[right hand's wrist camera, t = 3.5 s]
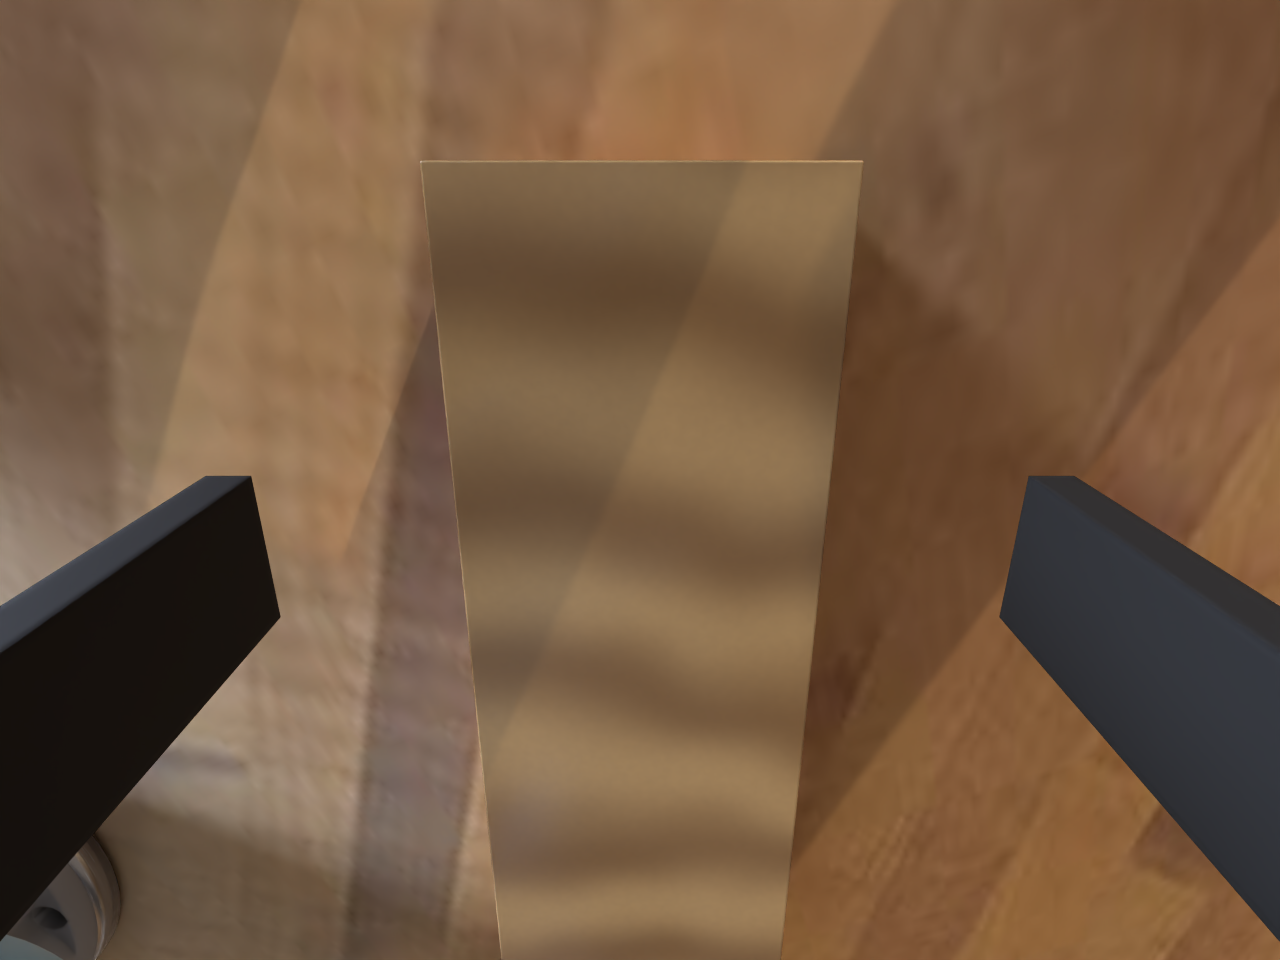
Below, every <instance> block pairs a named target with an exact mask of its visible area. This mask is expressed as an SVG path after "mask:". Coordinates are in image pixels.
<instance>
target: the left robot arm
mask: <svg viewBox="0 0 1280 960" xmlns="http://www.w3.org/2000/svg"><path fill="white" fill-rule="evenodd" d="M119 915H120V892H119V887H118V883H117V879H116V876H115V873H114V870H113V868H112V866H111V864H110V862H109V860H108V858H107V856H106V854H105V852H104V851H103V849H102V848H101V846H100V845H99V843H98V842H97V840H96V839H95V838H94V837H93V835H92V836H91V837H90V838H89V839H88V841H87V842H86V843H85V844H84V845H83V846H82V848H81V849H80V850H79V851H78V852H77V853H76V855H75V856H74V857H73V858H72V859H71V860H70V861H69V863H68V864H67V865H66V866H65V867H64V868H63V870H62V871H61V872H60V873H59V874H58V875H57V877H56V878H55V879H54V880H53V881H52V882H51V883H50V885H49V886H48V887H47V888H46V889H45V890H44V892H43V893H42V894H41V895H40V896H39V897H38V899H37V900H36V901H35V902H34V903H33V904H32V905H31V907H30V908H29V909H28V910H27V911H26V912H25V914H24V915H23V916H22V917H21V918H20V919H19V921H18V922H17V923H16V924H15V925H14V926H13V927H12V929H11V930H10V931H9V932H8V933H7V934H6V936H5V937H4V938H3V939H2V940H1V941H0V960H97V958H98V957H99V956H100V954H101V953H102V951H103V950H104V949H105V947H106V946H107V944H108V943H109V941H110V940H111V938H112V936H113V934H114V932H115V930H116V927H117V924H118V920H119Z"/></svg>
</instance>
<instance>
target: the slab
mask: <svg viewBox="0 0 1280 960" xmlns="http://www.w3.org/2000/svg"><path fill="white" fill-rule="evenodd" d="M863 165H864V163H863V161H862V160H422V161H421V162H420V167H421V177H422V187H423V197H424V206H425V216H426V226H427V236H428V245H429V255H430V265H431V275H432V285H433V294H434V304H435V314H436V324H437V334H438V343H439V353H440V363H441V373H442V382H443V392H444V402H445V412H446V422H447V431H448V441H449V451H450V461H451V471H452V480H453V490H454V500H455V510H456V519H457V529H458V539H459V549H460V559H461V568H462V578H463V588H464V598H465V608H466V617H467V627H468V637H469V647H470V656H471V666H472V676H473V686H474V696H475V705H476V715H477V725H478V735H479V744H480V754H481V764H482V774H483V784H484V793H485V803H486V813H487V823H488V833H489V842H490V852H491V862H492V872H493V881H494V891H495V901H496V911H497V921H498V930H499V940H500V950H501V960H781V953H782V943H783V934H784V924H785V914H786V905H787V895H788V886H789V876H790V866H791V857H792V847H793V838H794V828H795V818H796V809H797V799H798V790H799V780H800V770H801V761H802V751H803V742H804V732H805V722H806V713H807V703H808V694H809V684H810V674H811V665H812V655H813V646H814V636H815V626H816V617H817V607H818V597H819V588H820V578H821V569H822V559H823V549H824V540H825V530H826V521H827V511H828V501H829V492H830V482H831V473H832V463H833V453H834V444H835V434H836V425H837V415H838V405H839V396H840V386H841V377H842V367H843V357H844V348H845V338H846V329H847V319H848V309H849V300H850V290H851V281H852V271H853V261H854V252H855V242H856V232H857V223H858V213H859V204H860V194H861V184H862V175H863Z"/></svg>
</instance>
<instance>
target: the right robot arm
mask: <svg viewBox="0 0 1280 960" xmlns="http://www.w3.org/2000/svg"><path fill="white" fill-rule="evenodd" d="M279 618H280V612H279V607H278V603H277V598H276V593H275V588H274V583H273V579H272V574H271V569H270V564H269V559H268V555H267V550H266V545H265V540H264V535H263V531H262V526H261V521H260V516H259V511H258V507H257V502H256V497H255V492H254V487H253V483H252V478H251V476H205V477H203V478H202V479H200V480H199V481H197V482H195V483H194V484H192V485H191V486H189V487H188V488H186V489H184V490H183V491H181V492H180V493H178V494H177V495H175V496H173V497H172V498H170V499H169V500H167V501H165V502H164V503H162V504H161V505H159V506H158V507H156V508H154V509H153V510H151V511H150V512H148V513H147V514H145V515H143V516H142V517H140V518H139V519H137V520H136V521H134V522H132V523H131V524H129V525H128V526H126V527H124V528H123V529H121V530H120V531H118V532H117V533H115V534H113V535H112V536H110V537H109V538H107V539H106V540H104V541H102V542H101V543H99V544H98V545H96V546H94V547H93V548H91V549H90V550H88V551H87V552H85V553H83V554H82V555H80V556H79V557H77V558H76V559H74V560H72V561H71V562H69V563H68V564H66V565H64V566H63V567H61V568H60V569H58V570H57V571H55V572H53V573H52V574H50V575H49V576H47V577H46V578H44V579H42V580H41V581H39V582H38V583H36V584H34V585H33V586H31V587H30V588H28V589H27V590H25V591H23V592H22V593H20V594H19V595H17V596H16V597H14V598H12V599H11V600H9V601H8V602H6V603H4V604H3V605H1V606H0V941H1V940H2V939H3V938H4V937H5V936H6V934H7V933H8V932H9V931H10V930H11V929H12V927H13V926H14V925H15V924H16V923H17V922H18V921H19V919H20V918H21V917H22V916H23V915H24V914H25V912H26V911H27V910H28V909H29V908H30V907H31V905H32V904H33V903H34V902H35V901H36V900H37V899H38V897H39V896H40V895H41V894H42V893H43V892H44V890H45V889H46V888H47V887H48V886H49V885H50V883H51V882H52V881H53V880H54V879H55V878H56V877H57V875H58V874H59V873H60V872H61V871H62V870H63V868H64V867H65V866H66V865H67V864H68V863H69V861H70V860H71V859H72V858H73V857H74V856H75V855H76V853H77V852H78V851H79V850H80V849H81V848H82V846H83V845H84V844H85V843H86V842H87V841H88V839H89V838H90V837H91V836H92V835H93V834H94V833H95V831H96V830H97V829H98V828H99V827H100V826H101V824H102V823H103V822H104V821H105V820H106V819H107V817H108V816H109V815H110V814H111V813H112V812H113V811H114V809H115V808H116V807H117V806H118V805H119V804H120V802H121V801H122V800H123V799H124V798H125V797H126V795H127V794H128V793H129V792H130V791H131V790H132V789H133V787H134V786H135V785H136V784H137V783H138V782H139V780H140V779H141V778H142V777H143V776H144V775H145V773H146V772H147V771H148V770H149V769H150V768H151V767H152V765H153V764H154V763H155V762H156V761H157V760H158V758H159V757H160V756H161V755H162V754H163V753H164V751H165V750H166V749H167V748H168V747H169V746H170V745H171V743H172V742H173V741H174V740H175V739H176V738H177V736H178V735H179V734H180V733H181V732H182V731H183V729H184V728H185V727H186V726H187V725H188V724H189V723H190V721H191V720H192V719H193V718H194V717H195V716H196V714H197V713H198V712H199V711H200V710H201V709H202V707H203V706H204V705H205V704H206V703H207V702H208V701H209V699H210V698H211V697H212V696H213V695H214V694H215V692H216V691H217V690H218V689H219V688H220V687H221V685H222V684H223V683H224V682H225V681H226V680H227V679H228V677H229V676H230V675H231V674H232V673H233V672H234V670H235V669H236V668H237V667H238V666H239V665H240V663H241V662H242V661H243V660H244V659H245V658H246V657H247V655H248V654H249V653H250V652H251V651H252V650H253V648H254V647H255V646H256V645H257V644H258V643H259V641H260V640H261V639H262V638H263V637H264V636H265V635H266V633H267V632H268V631H269V630H270V629H271V628H272V626H273V625H274V624H275V623H276V622H277V621H278V619H279ZM1000 618H1001V619H1002V621H1003V622H1004V623H1005V624H1006V625H1007V626H1008V628H1009V629H1010V630H1011V631H1012V632H1013V633H1014V635H1015V636H1016V637H1017V638H1018V639H1019V640H1020V641H1021V643H1022V644H1023V645H1024V646H1025V647H1026V648H1027V650H1028V651H1029V652H1030V653H1031V654H1032V655H1033V657H1034V658H1035V659H1036V660H1037V661H1038V662H1039V663H1040V665H1041V666H1042V667H1043V668H1044V669H1045V670H1046V672H1047V673H1048V674H1049V675H1050V676H1051V677H1052V679H1053V680H1054V681H1055V682H1056V683H1057V684H1058V685H1059V687H1060V688H1061V689H1062V690H1063V691H1064V692H1065V694H1066V695H1067V696H1068V697H1069V698H1070V699H1071V701H1072V702H1073V703H1074V704H1075V705H1076V706H1077V707H1078V709H1079V710H1080V711H1081V712H1082V713H1083V714H1084V716H1085V717H1086V718H1087V719H1088V720H1089V721H1090V723H1091V724H1092V725H1093V726H1094V727H1095V728H1096V729H1097V731H1098V732H1099V733H1100V734H1101V735H1102V736H1103V738H1104V739H1105V740H1106V741H1107V742H1108V743H1109V745H1110V746H1111V747H1112V748H1113V749H1114V750H1115V751H1116V753H1117V754H1118V755H1119V756H1120V757H1121V758H1122V760H1123V761H1124V762H1125V763H1126V764H1127V765H1128V767H1129V768H1130V769H1131V770H1132V771H1133V772H1134V773H1135V775H1136V776H1137V777H1138V778H1139V779H1140V780H1141V782H1142V783H1143V784H1144V785H1145V786H1146V787H1147V789H1148V790H1149V791H1150V792H1151V793H1152V794H1153V795H1154V797H1155V798H1156V799H1157V800H1158V801H1159V802H1160V804H1161V805H1162V806H1163V807H1164V808H1165V809H1166V811H1167V812H1168V813H1169V814H1170V815H1171V816H1172V817H1173V819H1174V820H1175V821H1176V822H1177V823H1178V824H1179V826H1180V827H1181V828H1182V829H1183V830H1184V831H1185V833H1186V834H1187V835H1188V836H1189V837H1190V838H1191V839H1192V841H1193V842H1194V843H1195V844H1196V845H1197V846H1198V848H1199V849H1200V850H1201V851H1202V852H1203V853H1204V855H1205V856H1206V857H1207V858H1208V859H1209V860H1210V861H1211V863H1212V864H1213V865H1214V866H1215V867H1216V868H1217V870H1218V871H1219V872H1220V873H1221V874H1222V875H1223V877H1224V878H1225V879H1226V880H1227V881H1228V882H1229V883H1230V885H1231V886H1232V887H1233V888H1234V889H1235V890H1236V892H1237V893H1238V894H1239V895H1240V896H1241V897H1242V899H1243V900H1244V901H1245V902H1246V903H1247V904H1248V905H1249V907H1250V908H1251V909H1252V910H1253V911H1254V912H1255V914H1256V915H1257V916H1258V917H1259V918H1260V919H1261V921H1262V922H1263V923H1264V924H1265V925H1266V926H1267V927H1268V929H1269V930H1270V931H1271V932H1272V933H1273V934H1274V936H1275V937H1276V938H1277V939H1278V940H1279V941H1280V606H1279V605H1277V604H1276V603H1274V602H1272V601H1271V600H1269V599H1268V598H1266V597H1264V596H1263V595H1261V594H1260V593H1258V592H1257V591H1255V590H1253V589H1252V588H1250V587H1249V586H1247V585H1246V584H1244V583H1242V582H1241V581H1239V580H1238V579H1236V578H1234V577H1233V576H1231V575H1230V574H1228V573H1227V572H1225V571H1223V570H1222V569H1220V568H1219V567H1217V566H1216V565H1214V564H1212V563H1211V562H1209V561H1208V560H1206V559H1204V558H1203V557H1201V556H1200V555H1198V554H1197V553H1195V552H1193V551H1192V550H1190V549H1189V548H1187V547H1186V546H1184V545H1182V544H1181V543H1179V542H1178V541H1176V540H1174V539H1173V538H1171V537H1170V536H1168V535H1167V534H1165V533H1163V532H1162V531H1160V530H1159V529H1157V528H1156V527H1154V526H1152V525H1151V524H1149V523H1148V522H1146V521H1144V520H1143V519H1141V518H1140V517H1138V516H1137V515H1135V514H1133V513H1132V512H1130V511H1129V510H1127V509H1126V508H1124V507H1122V506H1121V505H1119V504H1118V503H1116V502H1115V501H1113V500H1111V499H1110V498H1108V497H1107V496H1105V495H1103V494H1102V493H1100V492H1099V491H1097V490H1096V489H1094V488H1092V487H1091V486H1089V485H1088V484H1086V483H1085V482H1083V481H1081V480H1080V479H1078V478H1077V477H1075V476H1029V478H1028V483H1027V487H1026V492H1025V497H1024V502H1023V507H1022V511H1021V516H1020V521H1019V526H1018V531H1017V535H1016V540H1015V545H1014V550H1013V555H1012V559H1011V564H1010V569H1009V574H1008V579H1007V583H1006V588H1005V593H1004V598H1003V603H1002V607H1001V612H1000Z"/></svg>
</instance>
